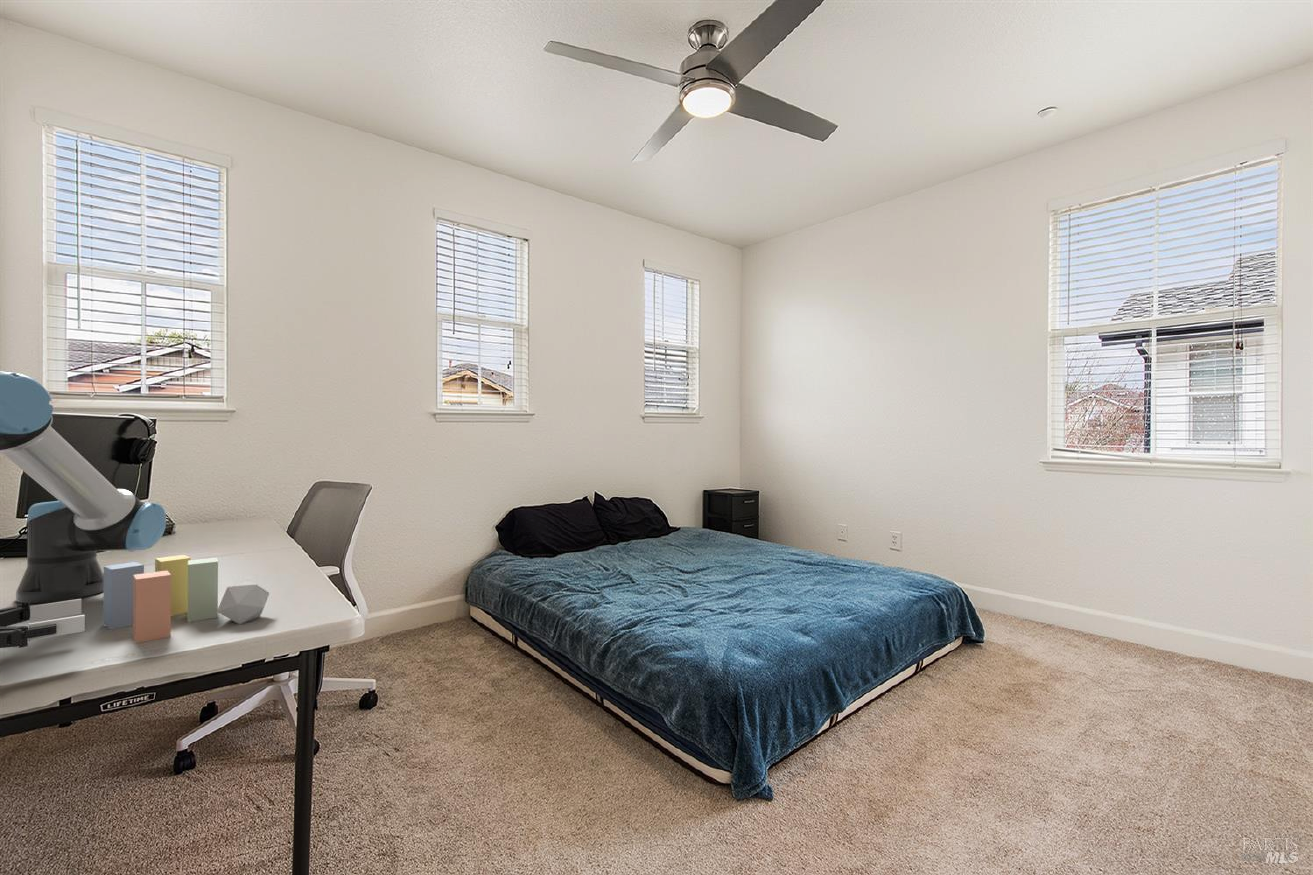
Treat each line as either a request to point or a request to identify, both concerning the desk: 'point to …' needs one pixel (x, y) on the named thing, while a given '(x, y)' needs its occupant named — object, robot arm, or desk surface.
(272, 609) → the desk surface
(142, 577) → the terracotta pillar
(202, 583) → the sage pillar
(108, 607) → the slate pillar
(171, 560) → the mustard pillar
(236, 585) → the die
